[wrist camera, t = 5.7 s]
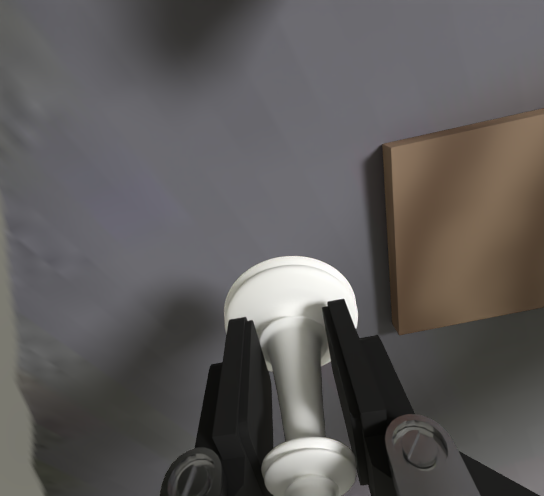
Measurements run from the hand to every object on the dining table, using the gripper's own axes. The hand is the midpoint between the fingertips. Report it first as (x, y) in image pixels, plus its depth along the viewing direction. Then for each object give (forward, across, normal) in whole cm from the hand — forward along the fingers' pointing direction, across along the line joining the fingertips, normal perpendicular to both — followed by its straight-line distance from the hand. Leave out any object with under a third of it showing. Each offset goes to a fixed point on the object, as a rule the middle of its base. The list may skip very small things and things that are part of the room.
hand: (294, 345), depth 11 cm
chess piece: (+2, 0, 0) cm, 2 cm away
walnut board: (+9, -15, +2) cm, 18 cm away
